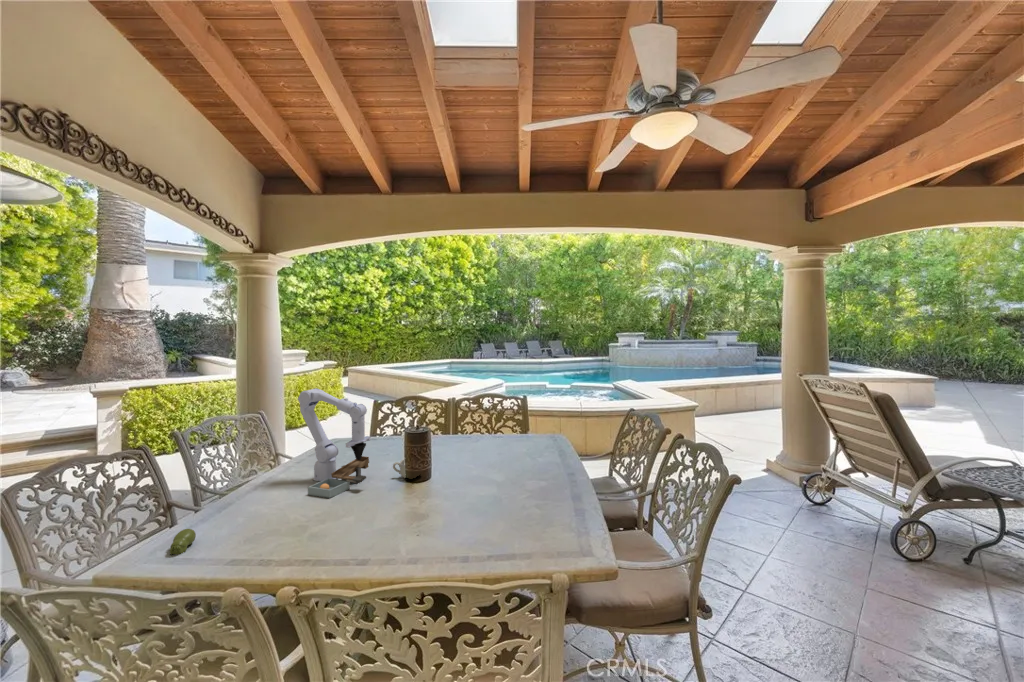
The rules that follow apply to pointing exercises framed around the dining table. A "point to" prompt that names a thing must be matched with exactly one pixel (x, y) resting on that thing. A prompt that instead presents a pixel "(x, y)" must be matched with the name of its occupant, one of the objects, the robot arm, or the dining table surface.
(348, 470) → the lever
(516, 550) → the dining table surface
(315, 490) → the tray
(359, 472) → the stand
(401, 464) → the teacup
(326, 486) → the ball
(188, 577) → the dining table surface
